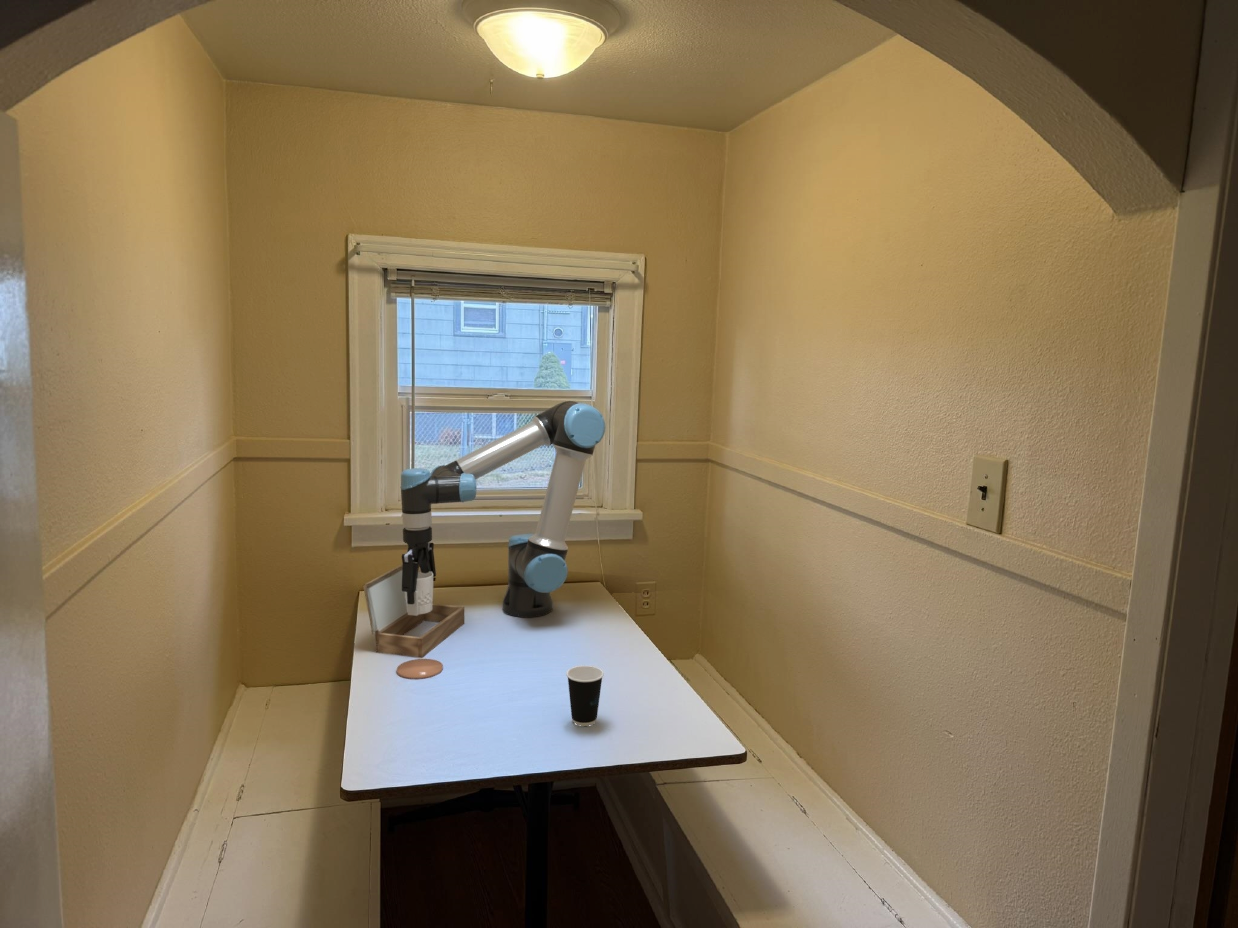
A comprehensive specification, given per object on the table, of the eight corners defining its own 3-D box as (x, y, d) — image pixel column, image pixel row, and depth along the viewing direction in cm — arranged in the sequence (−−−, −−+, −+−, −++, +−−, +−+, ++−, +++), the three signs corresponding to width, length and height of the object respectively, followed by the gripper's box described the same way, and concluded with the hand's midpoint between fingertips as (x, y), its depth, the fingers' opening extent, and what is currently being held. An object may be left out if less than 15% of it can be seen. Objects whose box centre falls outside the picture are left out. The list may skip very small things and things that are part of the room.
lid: (414, 558, 228) (411, 559, 228) (366, 584, 202) (363, 585, 203) (422, 602, 229) (419, 602, 229) (375, 633, 204) (372, 633, 204)
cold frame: (464, 623, 227) (464, 604, 226) (422, 657, 202) (421, 635, 201) (422, 619, 230) (422, 599, 229) (375, 652, 205) (375, 630, 204)
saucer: (450, 663, 198) (450, 661, 198) (430, 681, 188) (430, 678, 188) (410, 658, 201) (410, 656, 201) (388, 676, 190) (388, 673, 190)
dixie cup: (565, 713, 173) (565, 665, 172) (601, 712, 174) (602, 664, 172) (566, 730, 165) (566, 680, 164) (604, 729, 166) (605, 680, 165)
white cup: (417, 617, 209) (415, 581, 207) (398, 611, 213) (396, 575, 212) (440, 609, 215) (439, 573, 213) (421, 603, 219) (420, 568, 218)
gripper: (422, 517, 221) (425, 596, 225) (384, 535, 201) (388, 621, 205) (447, 519, 219) (449, 598, 223) (411, 537, 200) (415, 623, 203)
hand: (420, 609), depth 214 cm, fingers closed on white cup, 8 cm apart
